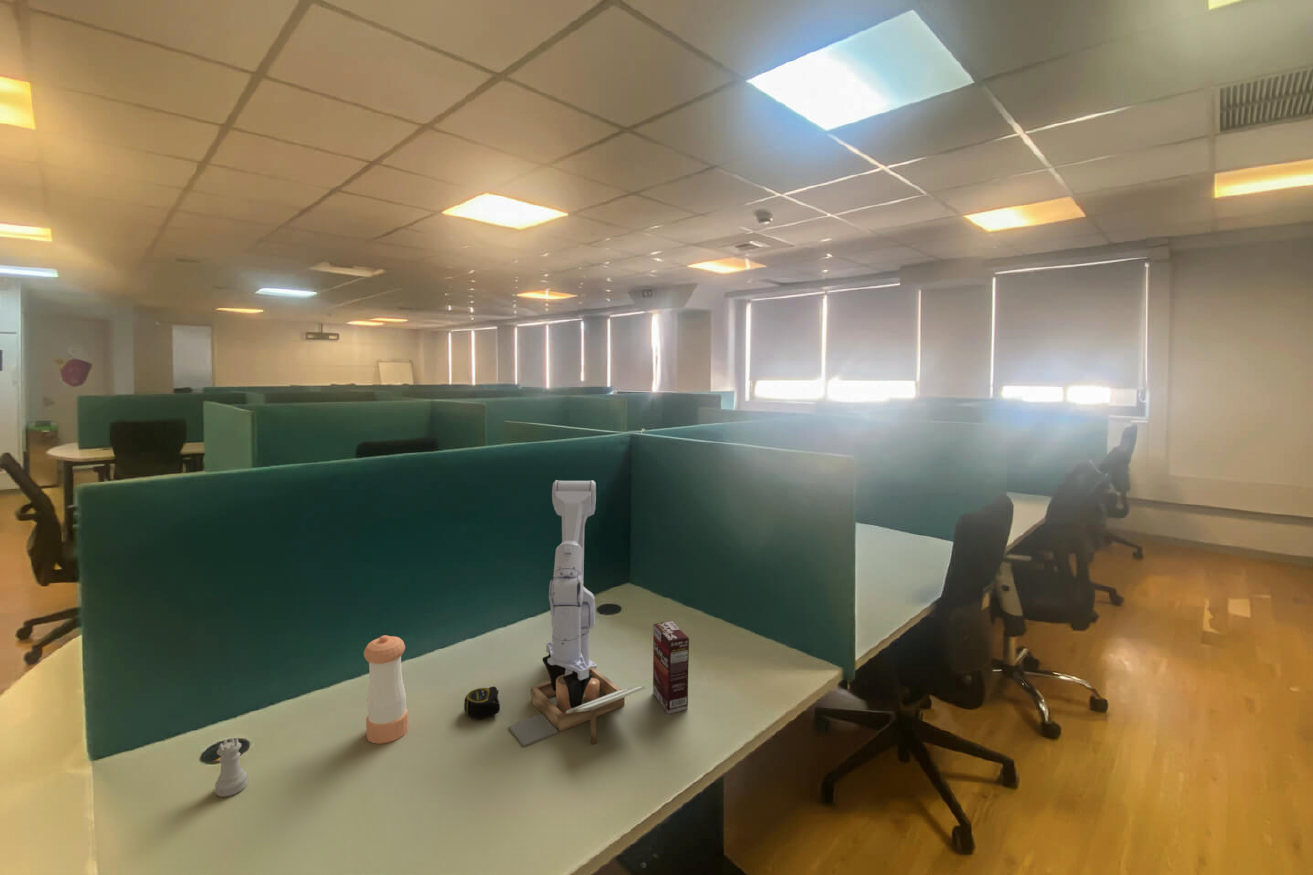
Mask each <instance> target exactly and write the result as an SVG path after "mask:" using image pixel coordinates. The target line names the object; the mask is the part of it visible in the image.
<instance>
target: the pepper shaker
mask: <svg viewBox="0 0 1313 875" xmlns="http://www.w3.org/2000/svg"><path fill="white" fill-rule="evenodd" d="M405 649H406V645H405V643H404V640H402V639H401V638H400V637H398V636H394V635H391V636H390V635H387V634H386V635H385V634H384V635H382V636H380V637H378V638H376V639H373V640H372V641H370V642H369V643H368V644H367V645H366V646H365V649H364V651H363V657H364V659H365V660H366V661H367V662H368V666H369V667H368V669H369V671H368V672H369V684H368V692H367V699H366V701H367V702H366V703H367V704H366V705H367V717H366V719H365V726H366V739H367V740H368V741H369V742H371V743H373V744H381V745H382V744H388V743H390V742H394V741H396V740H399V739H401V738H402V737H403V736H405V735H406V733H407V732H408V730H409V727H410V726H409V724H410V723H409V710H408V708H407V704H406V703H407V702H406V701H407V698H406V696H407V695H406V689H405V685H404V681H403V680H404V679H403V675H402V672H403V671H402V656H403V654H404V653H405Z"/></svg>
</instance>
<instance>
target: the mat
mask: <svg viewBox="0 0 1313 875" xmlns="http://www.w3.org/2000/svg"><path fill="white" fill-rule="evenodd" d="M508 729H509V731H510V732H511V733H512V734H513V736H515V738H516V739H517V741H519V743H520V744H521V746H523V747H527V746H529V745H531V744H534V743H535V742H538V741H541V740H543V739H546V738H548V737H551V736H553V735H556V734H558V733H559V732H558V731H559V730H558V729H557V728H556V727H555V726H554V725H553V724H552V723H551V722H550V720H549V719H548V718H547V717H546V716H545V715H544V714H543V713H542V712H541V713H539V714H536V715H534V716H531V717H529V718H526V719H523V720H521V721H517V722H515V723H512V724H510V725H508Z"/></svg>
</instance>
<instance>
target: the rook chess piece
mask: <svg viewBox="0 0 1313 875" xmlns="http://www.w3.org/2000/svg"><path fill="white" fill-rule="evenodd" d="M241 747H242V743H241V742H239V739H238V738H237V737H236V738H235V739H234V737H233V738H230V739H229V741H228V740H227V739H226V740H224V741H222V743H221V742H220V744H219V745H218V749H217V751H216V754H217V755H218V756H220V758H219V760H218V762H219V763H220V771H219V772H220V774H219V776H218V777H217V780H216V782H215V784H214V787H215V788H214V793H215V794H216V795H217V796H218V797H220V798H226V797H227V798H228V797H231V796H235V795H237V794H238V793H240V792H242V791H243V790H244V789H245V788H246V787H247V785H248V783H249V778H248V772H247V771H245V770H244V768H243V767H242V766H241V762H240V756H241V752H239V750H240V749H241Z"/></svg>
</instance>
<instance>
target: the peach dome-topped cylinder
mask: <svg viewBox="0 0 1313 875" xmlns="http://www.w3.org/2000/svg"><path fill="white" fill-rule="evenodd" d="M566 675H569V674H565V675H561V676H559V677H558V678H557V679H556V695H555V706H556V707H557V708H558V709H559V710H560V711H561V712H562V713H563V712H566V711H567V710H569V709H572V708H571V706H570V702H569V693H568V688H567V685H566V683H565V681H564V679H563V676H566Z"/></svg>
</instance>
